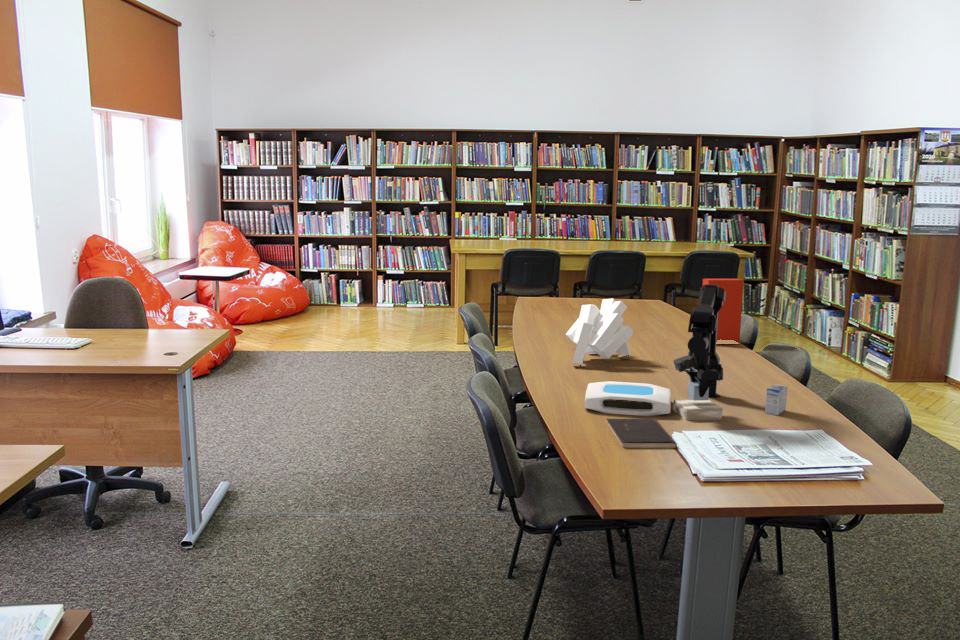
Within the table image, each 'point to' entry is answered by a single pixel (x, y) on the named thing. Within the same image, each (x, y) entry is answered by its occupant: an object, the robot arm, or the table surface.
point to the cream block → (697, 409)
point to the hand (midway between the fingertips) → (698, 394)
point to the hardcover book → (641, 433)
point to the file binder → (729, 308)
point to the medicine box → (776, 399)
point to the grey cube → (696, 392)
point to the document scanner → (628, 397)
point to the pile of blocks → (600, 331)
